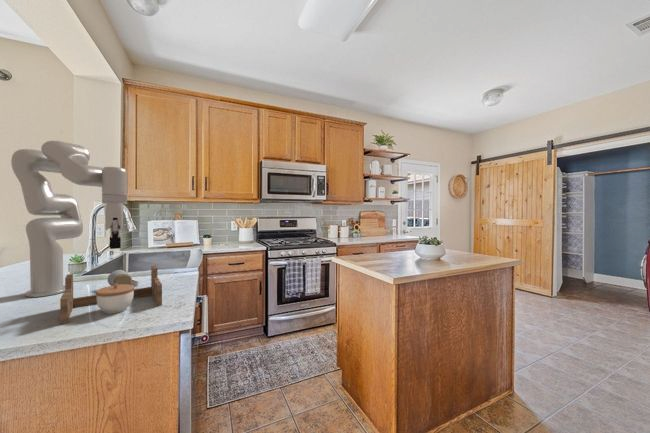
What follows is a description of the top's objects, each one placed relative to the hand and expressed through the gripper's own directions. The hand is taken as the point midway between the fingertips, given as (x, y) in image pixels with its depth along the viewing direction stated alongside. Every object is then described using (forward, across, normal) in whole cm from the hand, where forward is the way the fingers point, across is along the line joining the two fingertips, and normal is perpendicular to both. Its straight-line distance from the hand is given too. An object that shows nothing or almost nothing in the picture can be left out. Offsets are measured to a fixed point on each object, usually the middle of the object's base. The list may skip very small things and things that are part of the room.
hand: (115, 247), depth 100 cm
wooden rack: (+21, +5, 0) cm, 22 cm away
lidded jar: (+22, +10, 0) cm, 24 cm away
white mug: (+22, -22, +3) cm, 31 cm away
